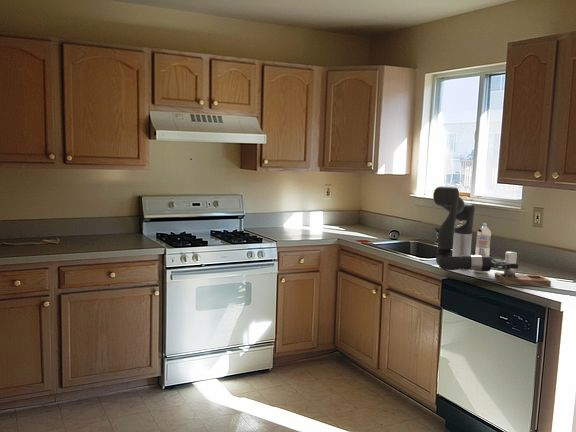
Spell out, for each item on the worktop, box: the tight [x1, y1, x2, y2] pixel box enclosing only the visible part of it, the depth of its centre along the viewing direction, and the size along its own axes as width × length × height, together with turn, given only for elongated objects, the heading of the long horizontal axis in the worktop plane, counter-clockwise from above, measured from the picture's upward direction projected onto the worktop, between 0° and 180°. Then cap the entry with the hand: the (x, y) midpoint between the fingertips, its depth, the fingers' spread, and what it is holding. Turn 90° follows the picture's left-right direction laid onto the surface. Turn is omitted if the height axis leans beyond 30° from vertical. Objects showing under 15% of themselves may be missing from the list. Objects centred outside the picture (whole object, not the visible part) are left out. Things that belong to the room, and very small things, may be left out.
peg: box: [503, 250, 518, 278], centre depth 263 cm, size 5×5×14 cm
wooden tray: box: [494, 272, 552, 287], centre depth 263 cm, size 12×22×3 cm, turn 85°
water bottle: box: [473, 223, 492, 275], centre depth 279 cm, size 7×7×25 cm
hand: (515, 265), depth 262 cm, fingers closed on peg, 5 cm apart
